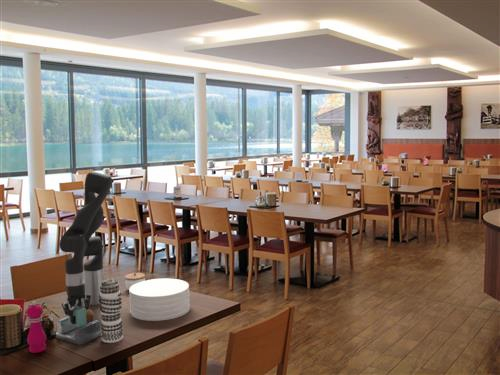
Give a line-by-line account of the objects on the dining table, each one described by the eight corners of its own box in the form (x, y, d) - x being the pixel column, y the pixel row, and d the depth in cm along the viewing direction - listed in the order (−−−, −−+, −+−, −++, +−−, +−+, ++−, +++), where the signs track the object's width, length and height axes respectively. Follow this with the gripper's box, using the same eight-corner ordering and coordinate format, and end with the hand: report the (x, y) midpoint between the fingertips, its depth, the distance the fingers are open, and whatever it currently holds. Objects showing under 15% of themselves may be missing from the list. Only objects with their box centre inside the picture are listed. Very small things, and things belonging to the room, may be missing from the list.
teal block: (69, 324, 231) (68, 308, 230) (76, 321, 234) (75, 305, 233) (78, 327, 228) (77, 310, 227) (86, 323, 231) (85, 307, 230)
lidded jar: (129, 286, 300) (128, 269, 299) (148, 286, 299) (147, 269, 298) (122, 292, 289) (121, 275, 288) (142, 292, 288) (141, 275, 287)
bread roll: (72, 332, 247) (72, 319, 243) (68, 316, 254) (68, 303, 250) (94, 327, 251) (95, 314, 247) (90, 312, 259) (90, 299, 255)
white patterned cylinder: (112, 332, 235) (108, 276, 232) (128, 336, 230) (125, 279, 227) (96, 340, 227) (92, 281, 224) (112, 344, 223) (109, 285, 219)
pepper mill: (31, 346, 223) (27, 298, 220) (49, 345, 223) (46, 297, 221) (25, 353, 216) (21, 304, 213) (44, 352, 216) (40, 303, 214)
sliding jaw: (57, 332, 232) (56, 320, 231) (74, 325, 239) (74, 313, 238) (61, 334, 230) (60, 321, 230) (78, 327, 238) (78, 314, 237)
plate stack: (172, 296, 282) (171, 275, 280) (200, 311, 259) (199, 288, 258) (120, 308, 265) (119, 285, 264) (146, 325, 243) (145, 300, 241)
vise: (56, 337, 231) (55, 323, 230) (77, 329, 240) (76, 314, 239) (80, 345, 223) (79, 329, 222) (100, 335, 232) (99, 321, 231)
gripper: (82, 277, 237) (85, 315, 239) (55, 285, 225) (58, 326, 227) (94, 279, 232) (97, 318, 235) (67, 288, 221) (70, 329, 223)
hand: (78, 322), depth 231 cm, fingers closed on teal block, 4 cm apart
